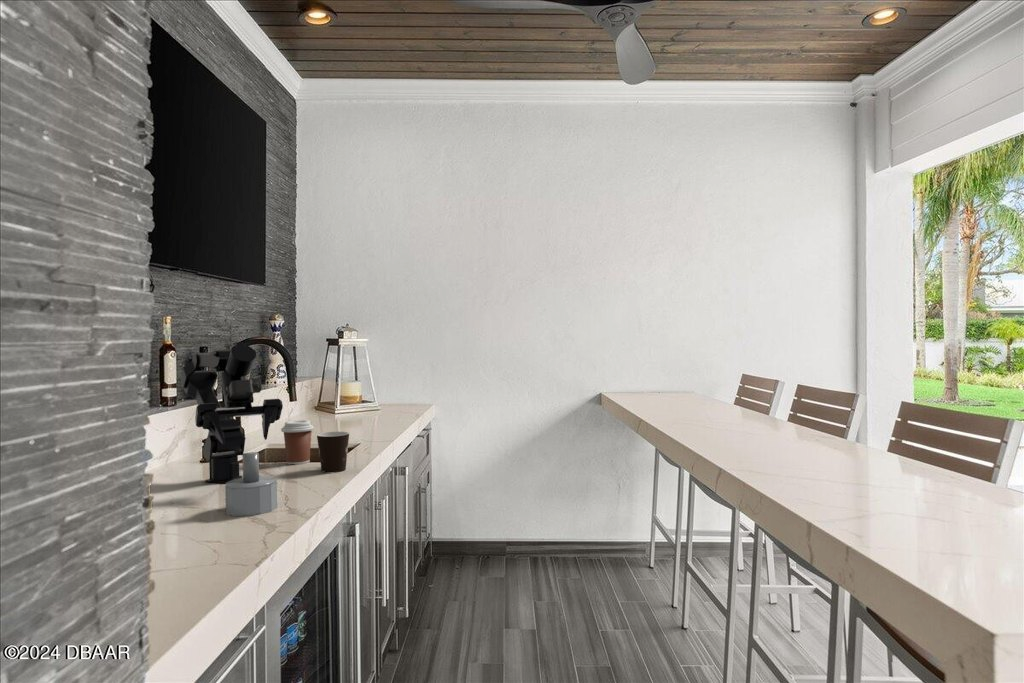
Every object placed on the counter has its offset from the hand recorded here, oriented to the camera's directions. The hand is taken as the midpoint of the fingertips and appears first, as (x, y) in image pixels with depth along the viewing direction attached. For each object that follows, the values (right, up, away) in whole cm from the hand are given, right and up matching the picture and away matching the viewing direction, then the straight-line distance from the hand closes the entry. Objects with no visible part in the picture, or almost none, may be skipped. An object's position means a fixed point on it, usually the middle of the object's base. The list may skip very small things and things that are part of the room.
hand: (245, 440), depth 144 cm
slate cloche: (+6, -13, -10) cm, 17 cm away
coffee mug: (+13, -13, +30) cm, 35 cm away
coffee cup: (-1, -13, +39) cm, 41 cm away
